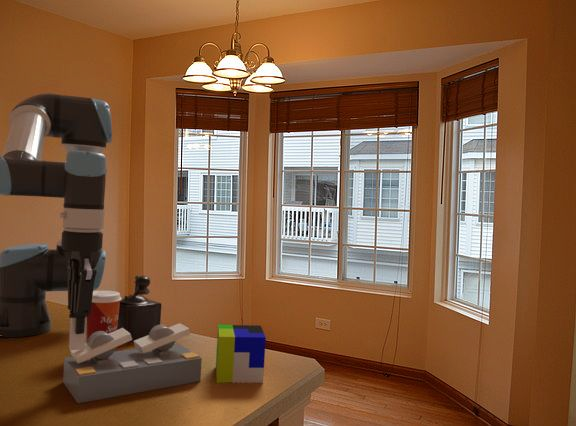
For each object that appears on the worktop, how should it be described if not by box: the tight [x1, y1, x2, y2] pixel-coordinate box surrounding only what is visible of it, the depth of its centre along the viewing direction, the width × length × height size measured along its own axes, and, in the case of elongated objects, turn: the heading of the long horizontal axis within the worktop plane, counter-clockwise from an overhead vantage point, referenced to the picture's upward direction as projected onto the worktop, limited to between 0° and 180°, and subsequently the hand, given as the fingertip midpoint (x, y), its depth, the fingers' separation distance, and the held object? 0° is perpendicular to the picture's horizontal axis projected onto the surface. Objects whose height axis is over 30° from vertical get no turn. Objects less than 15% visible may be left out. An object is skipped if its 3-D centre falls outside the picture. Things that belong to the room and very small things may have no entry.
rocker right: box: [133, 323, 191, 353], centre depth 110 cm, size 5×11×5 cm, turn 126°
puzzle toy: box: [215, 324, 267, 384], centre depth 114 cm, size 10×10×10 cm
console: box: [62, 342, 202, 404], centre depth 106 cm, size 12×25×6 cm, turn 126°
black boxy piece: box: [117, 275, 162, 342], centre depth 137 cm, size 16×11×18 cm
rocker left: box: [69, 328, 132, 364], centre depth 103 cm, size 5×11×5 cm, turn 126°
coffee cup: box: [86, 290, 123, 342], centre depth 121 cm, size 8×8×15 cm
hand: (77, 348), depth 100 cm, fingers closed
